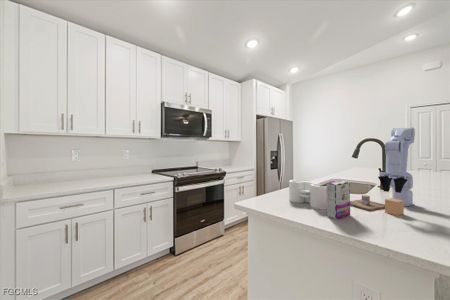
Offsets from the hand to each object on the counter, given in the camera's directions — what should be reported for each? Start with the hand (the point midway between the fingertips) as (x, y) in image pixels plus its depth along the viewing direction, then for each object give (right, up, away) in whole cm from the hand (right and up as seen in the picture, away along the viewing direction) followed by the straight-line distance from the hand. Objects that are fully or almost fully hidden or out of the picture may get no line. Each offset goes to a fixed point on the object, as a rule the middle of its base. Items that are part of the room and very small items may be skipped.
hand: (392, 192), depth 100 cm
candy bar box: (-28, -11, -3) cm, 30 cm away
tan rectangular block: (+1, -11, 0) cm, 10 cm away
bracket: (-34, -11, +19) cm, 40 cm away
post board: (-4, -10, +13) cm, 17 cm away
